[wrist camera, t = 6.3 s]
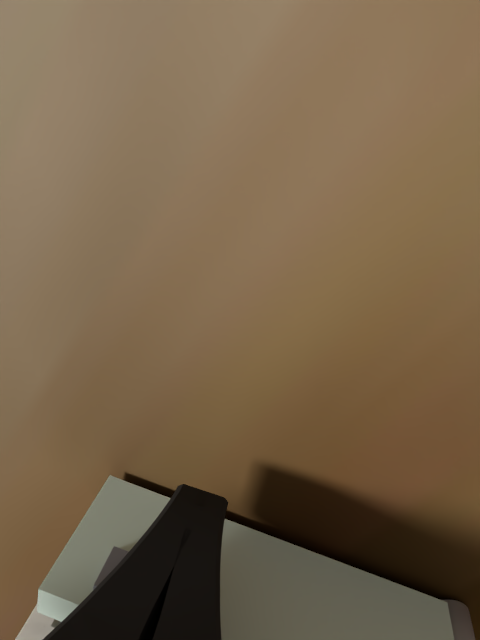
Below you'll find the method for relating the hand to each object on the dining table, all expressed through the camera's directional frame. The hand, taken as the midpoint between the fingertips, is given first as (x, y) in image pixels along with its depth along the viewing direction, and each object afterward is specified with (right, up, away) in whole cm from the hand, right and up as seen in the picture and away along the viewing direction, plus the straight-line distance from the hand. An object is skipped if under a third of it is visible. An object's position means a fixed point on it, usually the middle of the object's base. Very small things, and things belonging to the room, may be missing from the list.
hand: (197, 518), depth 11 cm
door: (+2, -2, +2) cm, 4 cm away
